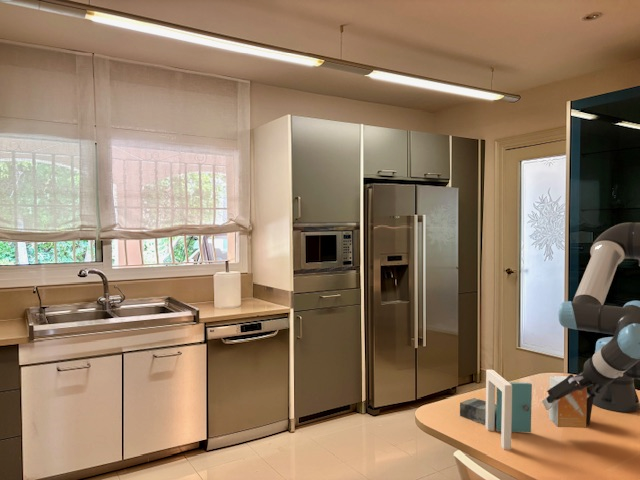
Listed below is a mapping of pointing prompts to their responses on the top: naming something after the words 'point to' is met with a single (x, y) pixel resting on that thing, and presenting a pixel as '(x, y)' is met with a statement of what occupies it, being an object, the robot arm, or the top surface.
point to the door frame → (506, 388)
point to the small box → (569, 407)
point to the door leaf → (517, 407)
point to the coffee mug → (589, 409)
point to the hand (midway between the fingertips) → (559, 403)
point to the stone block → (475, 410)
